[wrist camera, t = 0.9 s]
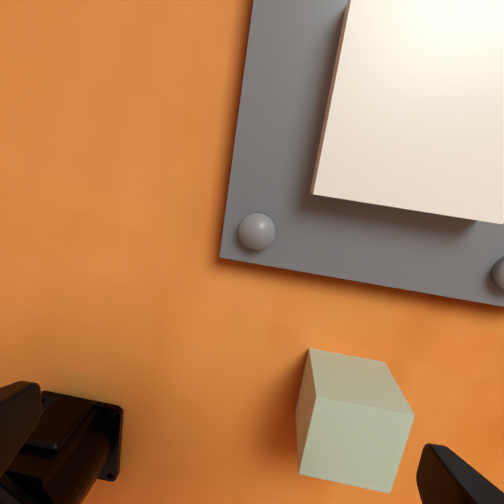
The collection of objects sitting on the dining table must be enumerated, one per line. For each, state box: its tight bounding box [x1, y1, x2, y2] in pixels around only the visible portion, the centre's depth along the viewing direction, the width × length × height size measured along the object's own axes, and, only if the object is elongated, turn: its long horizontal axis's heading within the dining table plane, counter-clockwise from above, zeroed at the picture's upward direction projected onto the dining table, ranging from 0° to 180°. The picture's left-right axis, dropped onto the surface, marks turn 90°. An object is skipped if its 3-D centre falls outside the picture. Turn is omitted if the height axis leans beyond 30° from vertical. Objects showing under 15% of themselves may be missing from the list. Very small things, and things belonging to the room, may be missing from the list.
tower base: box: [219, 0, 504, 307], centre depth 16 cm, size 18×18×4 cm
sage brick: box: [295, 348, 415, 493], centre depth 19 cm, size 5×5×5 cm
